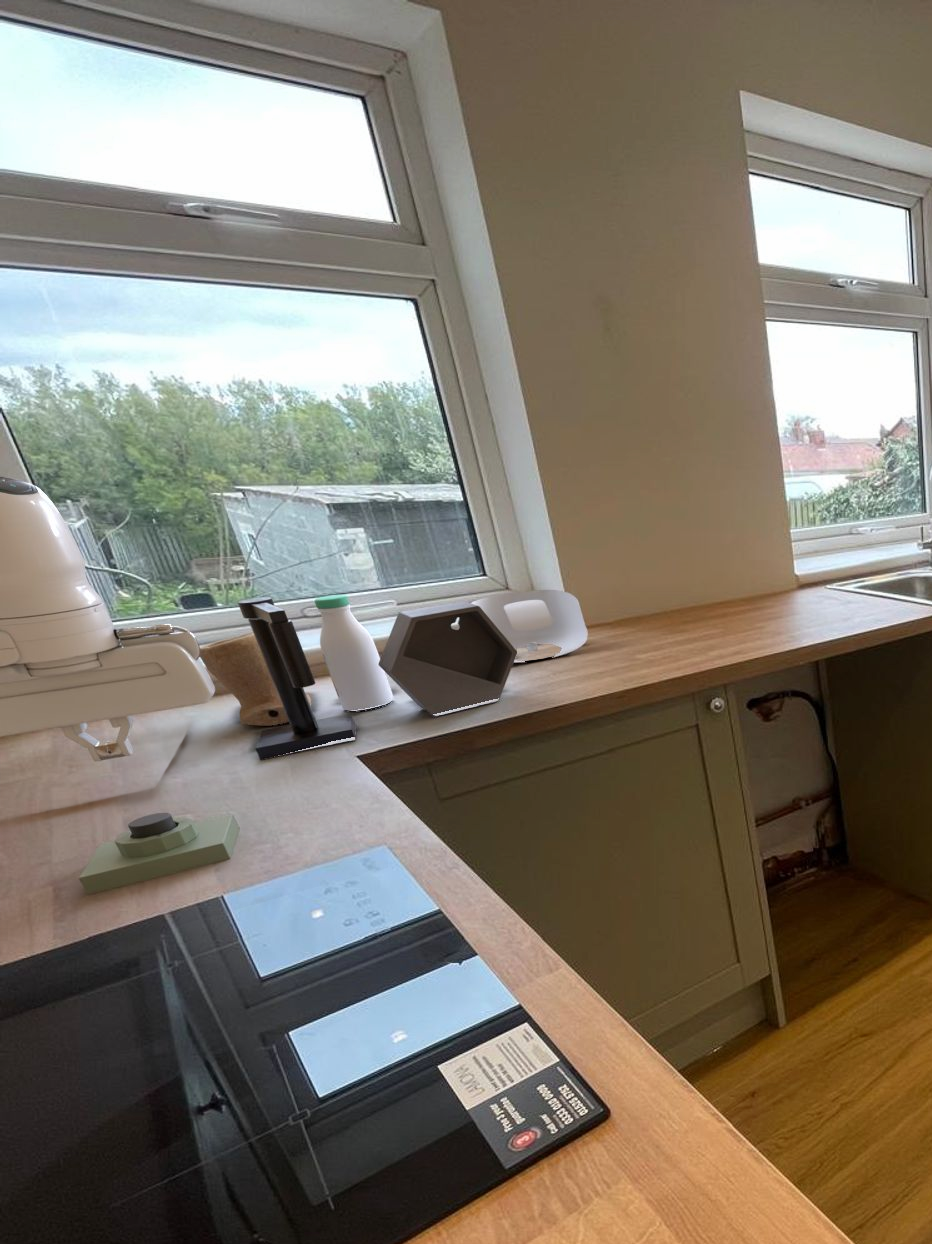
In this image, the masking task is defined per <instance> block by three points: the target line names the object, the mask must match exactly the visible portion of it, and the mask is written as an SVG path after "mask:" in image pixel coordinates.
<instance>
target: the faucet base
mask: <svg viewBox="0 0 932 1244" xmlns="http://www.w3.org/2000/svg"><path fill="white" fill-rule="evenodd" d="M247 621H248V623H249V625H250V628H251V631H252V633H254V636H255V638H256V641H257V643H258V646H259V648H260V651H261V653H262V656H263V658H264V660H265V663H266V665H267V668H268V670H269V673H270V675H271V678H272V680H273V683H274V685H275V688H276V690H277V693H278V695H279V698H280V700H281V703H282V705H283V708H284V710H285V713H286V715H287V718H288V720H289V722H288V723H289V725H284V726H279V727H273V728H268V729H263V730H260V733H259V736H258V739H257V742H256V746H255V751H256V753H257V756H258V758H259V761H262V759H263V760H266V759H265V758H268V759H271V758H270V757H273V758H275V757H274V756H278V755H283V754H286V753H290V752H295V751H298V750H302V749H306V748H310V747H314V746H318V745H322V744H326V743H328V742H331V741H336V740H341V739H346V738H351V737H355V723H356V720H355V718H354V715H353V713H348V714H343V715H336V716H332V717H326V718H321V719H316V717H315V715H314V712H313V710H312V709H313V708H312V706H311V707H310V704H309V702H308V699H307V696H306V694H307V693H306V691H305V689H304V687H303V688H294V687H293V685H292V682H291V680H290V677H289V675H288V672H287V670H286V667H285V665H284V662H283V659H282V657H281V654H280V652H279V649H278V647H277V644H276V642H275V639H274V637H273V634H272V632H271V629H270V626H269V622H267V621H265V620H263V619H261V618H251V619H247ZM305 693H306V694H305ZM283 756H284V755H283ZM278 757H279V756H278Z"/></svg>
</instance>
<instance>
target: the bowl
mask: <svg viewBox="0 0 932 1244" xmlns="http://www.w3.org/2000/svg"><path fill="white" fill-rule="evenodd" d="M471 603H472V604H474V605H477V606H480V607H481V609H482V610H483V611H484V612H485V613H486V615H487V616H488V617H489V618H490V619H491V621H492V622H493V623H494V624H495V625H496V627H497V628H498V629H499V630H500V631H501V633H502V634H503V635H504V636H505V637H506V638H507V640H508V641H509V642H510V643H511V644H512V646H513V647H514V648H515V649H516V650H517V648H520V647H525V646H526V649H527V650H528V651H529V652H530V651H537V650H538V645H537V644H553V645H556V646H559V647H561V648H562V649H561V651H560V653H558V654H556V655H555V656H554V657H553V658H556V657H559V656H563V655H567V654H569V653H572V652H573V651H576V650H578V649H579V648H581V647H582V646H583V645H584V644H585V643H586V642H587V640H588V637H589V631H588V627H587V626H586V623H585V619H584V616H583V612H582V609H581V605H580V602H579V600H578V598H576V597H575V596H574V595H573V594H572V593H569V592H568V591H565V590H560V589H559V590H557V589H536V590H535V589H534V590H525V591H517V592H509V593H502V594H497V595H492V596H491V595H490V596H488V597H483V598H480V599H476V600H474V601H472V602H471ZM514 663H526V662H525V661H517V660H514Z"/></svg>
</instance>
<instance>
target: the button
mask: <svg viewBox="0 0 932 1244" xmlns="http://www.w3.org/2000/svg"><path fill="white" fill-rule="evenodd" d="M173 818H174V817H173V816H172V814H171V813H169V812H157V813H151V814H147V815H144V816H142V817H139V818H136V819H134V820H132V821H130V822H128V825H127V827H128V830H130V831H131V833H132V835H133V837H134V838H135V839H138V838H146V837H151V836H155V835H159V834H162V833H165V832H167V831H170V830H172V829H174V828H176V827H177V826H176V824H175V822H174V820H173Z"/></svg>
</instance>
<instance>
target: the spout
mask: <svg viewBox="0 0 932 1244" xmlns="http://www.w3.org/2000/svg"><path fill="white" fill-rule="evenodd" d="M237 605H238V607H239V610H240V612H241V615H242V618H243V619H247V620H248V619H251V618H261V619H263V620H265V621H267V622H269V626H270V629H271V632H272V634H273V637H274V639H275V642H276V644H277V647H278V649H279V652H280V654H281V657H282V659H283V662H284V665H285V667H286V670H287V672H288V675H289V677H290V680H291V682H292V685H293V687H294V688H303V689H304V688H307V687H311V686H314V685H315V684H316V680H315V678H314V675H313V673H312V670H311V668H310V664H309V662H308V660H307V657H306V654H305V651H304V649H303V647H302V643H301V641H300V639H299V636H298V633H297V631H296V628H295V626H294V623H293V620H291V619H289V618H288V616H287V613H286V611H285V610H284V609H283V608H280V607H278V606H276V605H275V603H274V600H273V598H272V597H269V596H265V597H254V598H247V599H242V600H239V601H237Z"/></svg>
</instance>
